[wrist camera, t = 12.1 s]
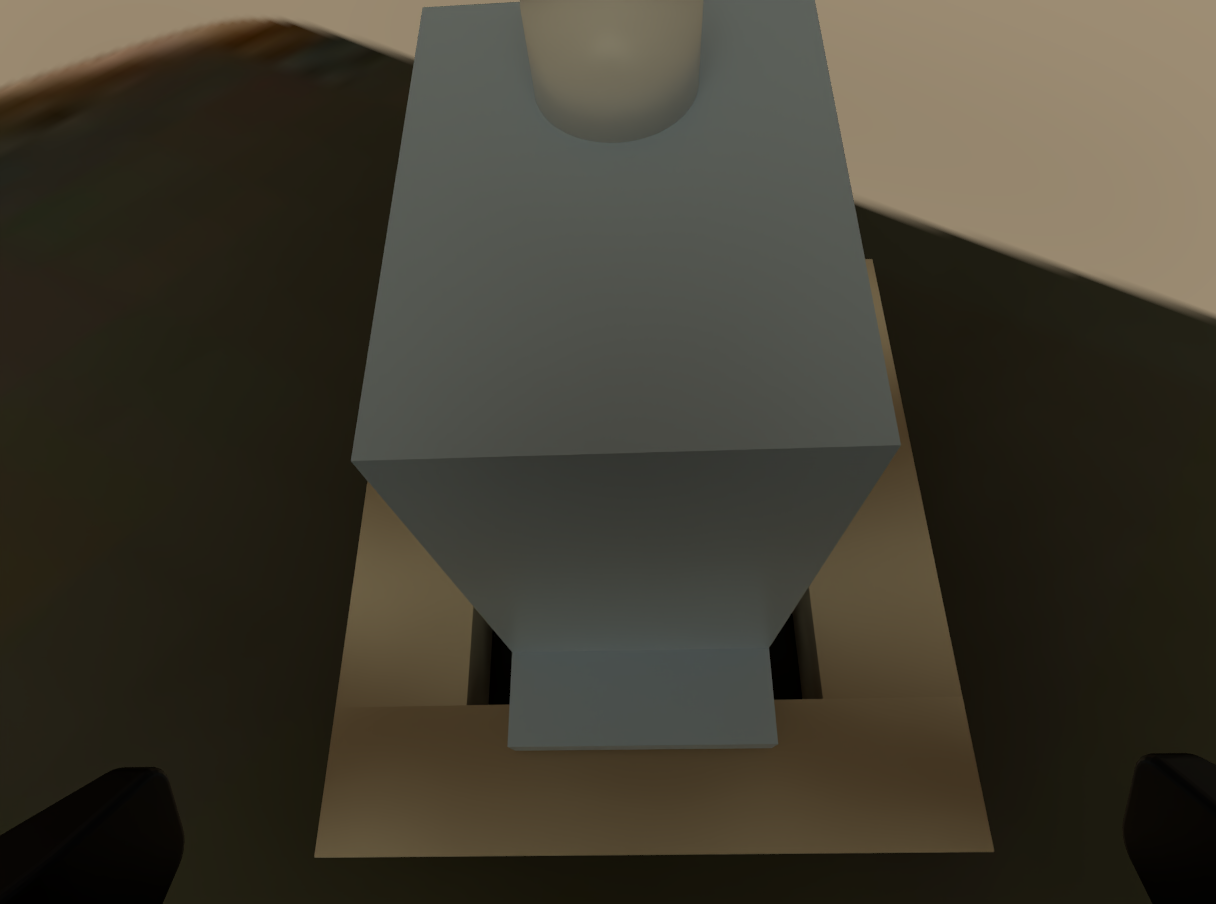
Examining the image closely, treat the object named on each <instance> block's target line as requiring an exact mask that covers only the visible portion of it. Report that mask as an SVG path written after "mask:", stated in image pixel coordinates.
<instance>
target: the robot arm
mask: <svg viewBox="0 0 1216 904" xmlns="http://www.w3.org/2000/svg"><path fill="white" fill-rule="evenodd" d="M1123 838H1124V843H1125V846H1126V850H1127V852H1128V855H1129V857H1130V859H1131V861H1132V863H1133V865H1134V867H1135V869H1136V871H1137V873H1138V875H1139V877H1140V879H1141V881H1142V883H1143V885H1144V887H1145V889H1146V892H1147V894H1148V896H1149V898H1150V900H1151V902H1152V904H1216V765H1215V764H1213V763H1211V762H1209V761H1207V760H1205V759H1203V758H1201V757H1199V756H1197V755H1193V754H1188V753H1157V754H1147V755H1144V756H1143V757H1141V758H1140V760H1139V761H1138V762H1137V764H1136V767H1135V770H1134V775H1133V779H1132V784H1131V788H1130V793H1129V797H1128V802H1127V806H1126V810H1125V815H1124V819H1123ZM183 850H184V831H183V827H182V823H181V820H180V817H179V813H178V810H177V806H176V803H175V800H174V796H173V793H172V789H171V786H170V782H169V779H168V777H167V775H166V774H165V773H164V772H163V771H162V770H161V769H159V768H156V767H124V768H117V769H114V770H112V771H110V772H108V773H106V774H104V775H102V776H101V777H99V778H97V779H96V780H94V781H92V782H91V783H89V784H87V785H85V786H84V787H82V788H80V789H79V790H77V791H75V792H74V793H72V794H70V795H68V796H67V797H65V798H63V799H62V800H60V801H58V802H56V803H55V804H53V805H51V806H50V807H48V808H46V809H45V810H43V811H41V812H39V813H38V814H36V815H34V816H33V817H31V818H29V819H28V820H26V821H24V822H22V823H21V824H19V825H17V826H16V827H14V828H12V829H10V830H9V831H7V832H5V833H4V834H2V835H0V904H163V901H164V899H165V897H166V894H167V892H168V890H169V887H170V885H171V883H172V880H173V878H174V876H175V873H176V871H177V869H178V867H179V864H180V861H181V858H182V854H183Z"/></svg>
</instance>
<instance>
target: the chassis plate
mask: <svg viewBox="0 0 1216 904" xmlns="http://www.w3.org/2000/svg"><path fill="white" fill-rule="evenodd" d="M865 262H866V267H867V272H868V277H869V283H870V288H871V293H872V298H873V303H874V308H875V313H876V319H877V324H878V329H879V334H880V339H881V344H882V350H883V355H884V360H885V365H886V370H887V375H888V380H889V386H890V391H891V396H892V401H893V406H894V411H895V417H896V422H897V427H898V432H899V437H900V442H901V446H900V448H899V449H898V451H897V452H896V454H895V455H894V457H893V458H892V460H891V461H890V463H889V464H888V466H887V467H886V469H885V471H884V472H883V474H882V475H881V477H880V478H879V480H878V481H877V483H876V484H875V486H874V487H873V489H872V491H871V492H870V494H869V495H868V497H867V498H866V500H865V501H864V503H863V504H862V506H861V507H860V509H859V511H858V512H857V514H856V515H855V517H854V518H853V520H852V521H851V523H850V524H849V526H848V527H847V529H846V530H845V532H844V534H843V535H842V537H841V538H840V540H839V541H838V543H837V544H836V546H835V547H834V549H833V550H832V552H831V554H830V555H829V557H828V558H827V560H826V561H825V563H824V564H823V566H822V567H821V569H820V570H819V572H818V573H817V575H816V577H815V578H814V580H813V581H812V583H811V584H810V586H809V587H808V589H807V590H806V592H805V593H804V595H803V597H802V598H801V600H800V601H799V603H798V604H797V606H796V607H795V609H794V610H793V612H792V615H793V623H794V632H795V640H796V649H797V657H798V666H799V674H800V683H801V692H802V699H793V700H774V706H775V716H776V726H777V737H778V745H776V746H774V747H773V748H747V749H646V750H546V751H515V750H513V749H511V748H509V747H507V746H508V726H509V706H510V705H489V687H490V670H491V652H492V635H493V629H492V628H491V627H490V625H489V624H488V623H487V622H486V621H485V619H484V618H483V617H482V616H481V615H480V614H479V612H478V611H477V610H476V609H475V608H474V606H473V605H472V604H471V603H470V602H469V600H468V599H467V598H466V597H465V596H464V595H463V593H462V592H461V591H460V590H459V589H458V587H457V586H456V585H455V584H454V583H453V582H452V580H451V579H450V578H449V577H448V576H447V574H446V573H445V572H444V571H443V570H442V569H441V567H440V566H439V565H438V564H437V563H436V561H435V560H434V559H433V558H432V557H431V555H430V554H429V553H428V552H427V551H426V550H425V548H424V547H423V546H422V545H421V544H420V542H419V541H418V540H417V539H416V538H415V537H414V535H413V534H412V533H411V532H410V531H409V529H408V528H407V527H406V526H405V525H404V523H403V522H402V521H401V520H400V519H399V518H398V516H397V515H396V514H395V513H394V512H393V510H392V509H391V508H390V507H389V506H388V505H387V503H386V502H385V501H384V500H383V499H382V497H381V496H380V495H379V494H378V493H377V491H376V490H375V489H374V488H373V487H372V486H371V484H370V483H369V482H368V481H367V488H366V495H365V503H364V510H363V517H362V524H361V531H360V538H359V545H358V552H357V559H356V566H355V573H354V580H353V587H352V594H351V601H350V608H349V616H348V623H347V630H346V637H345V644H344V651H343V658H342V665H341V672H340V679H339V686H338V693H337V700H336V707H335V714H334V721H333V728H332V736H331V743H330V750H329V757H328V764H327V771H326V778H325V785H324V792H323V799H322V806H321V813H320V820H319V827H318V834H317V841H316V849H315V856H314V858H338V857H455V856H573V855H691V854H809V853H927V852H994V848H993V843H992V838H991V833H990V828H989V823H988V818H987V814H986V809H985V804H984V799H983V794H982V789H981V785H980V780H979V775H978V770H977V765H976V760H975V755H974V751H973V746H972V741H971V736H970V731H969V726H968V721H967V717H966V712H965V707H964V702H963V697H962V692H961V687H960V683H959V678H958V673H957V668H956V663H955V658H954V653H953V649H952V644H951V639H950V634H949V629H948V624H947V619H946V615H945V610H944V605H943V600H942V595H941V590H940V585H939V581H938V576H937V571H936V566H935V561H934V556H933V551H932V547H931V542H930V537H929V532H928V527H927V522H926V517H925V513H924V508H923V503H922V498H921V493H920V488H919V484H918V479H917V474H916V469H915V464H914V459H913V454H912V450H911V445H910V440H909V435H908V430H907V425H906V420H905V416H904V411H903V406H902V401H901V396H900V391H899V386H898V382H897V377H896V372H895V367H894V362H893V357H892V352H891V348H890V343H889V338H888V333H887V328H886V323H885V318H884V314H883V309H882V304H881V299H880V294H879V289H878V284H877V280H876V275H875V270H874V265H873V260H872V259H865Z"/></svg>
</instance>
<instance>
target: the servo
mask: <svg viewBox="0 0 1216 904" xmlns="http://www.w3.org/2000/svg"><path fill="white" fill-rule="evenodd" d="M900 446H901V442H900V437H899V432H898V427H897V422H896V417H895V411H894V406H893V401H892V396H891V391H890V386H889V380H888V375H887V370H886V365H885V360H884V355H883V350H882V344H881V339H880V334H879V329H878V324H877V319H876V313H875V308H874V303H873V298H872V293H871V288H870V283H869V277H868V272H867V267H866V262H865V257H864V252H863V247H862V241H861V236H860V231H859V226H858V221H857V216H856V210H855V205H854V200H853V195H852V190H851V185H850V180H849V174H848V169H847V165H846V159H845V154H844V149H843V144H842V138H841V134H840V128H839V123H838V118H837V113H836V107H835V102H834V97H833V92H832V87H831V82H830V77H829V71H828V67H827V61H826V56H825V51H824V46H823V40H822V35H821V30H820V25H819V20H818V15H817V10H816V4H815V0H520V2H509V3H492V4H474V5H458V6H440V7H424V8H423V9H422V15H421V22H420V29H419V35H418V41H417V48H416V53H415V60H414V66H413V72H412V78H411V85H410V91H409V97H408V104H407V110H406V116H405V123H404V129H403V135H402V141H401V148H400V154H399V160H398V167H397V173H396V179H395V186H394V192H393V198H392V204H391V211H390V217H389V223H388V230H387V236H386V242H385V249H384V255H383V261H382V267H381V274H380V280H379V286H378V293H377V299H376V305H375V312H374V318H373V324H372V331H371V337H370V343H369V349H368V356H367V362H366V368H365V375H364V381H363V387H362V394H361V400H360V406H359V412H358V419H357V425H356V431H355V438H354V444H353V450H352V457H351V462H352V463H353V464H354V465H355V467H356V468H357V469H358V470H359V471H360V473H361V474H362V475H363V476H364V477H365V478H366V480H367V481H368V482H369V483H370V484H371V486H372V487H373V488H374V489H375V490H376V491H377V493H378V494H379V495H380V496H381V497H382V499H383V500H384V501H385V502H386V503H387V505H388V506H389V507H390V508H391V509H392V510H393V512H394V513H395V514H396V515H397V516H398V518H399V519H400V520H401V521H402V522H403V523H404V525H405V526H406V527H407V528H408V529H409V531H410V532H411V533H412V534H413V535H414V537H415V538H416V539H417V540H418V541H419V542H420V544H421V545H422V546H423V547H424V548H425V550H426V551H427V552H428V553H429V554H430V555H431V557H432V558H433V559H434V560H435V561H436V563H437V564H438V565H439V566H440V567H441V569H442V570H443V571H444V572H445V573H446V574H447V576H448V577H449V578H450V579H451V580H452V582H453V583H454V584H455V585H456V586H457V587H458V589H459V590H460V591H461V592H462V593H463V595H464V596H465V597H466V598H467V599H468V600H469V602H470V603H471V604H472V605H473V606H474V608H475V609H476V610H477V611H478V612H479V614H480V615H481V616H482V617H483V618H484V619H485V621H486V622H487V623H488V624H489V625H490V627H491V628H492V629H493V630H494V631H495V632H496V634H497V635H498V636H499V637H500V638H501V640H502V641H503V642H504V643H505V644H506V646H507V647H508V648H509V649H510V650H511V651H512V666H511V686H510V706H509V726H508V746H507V747H509V748H511V749H513V750H515V751H546V750H646V749H747V748H773V747H774V746H776V745H778V737H777V726H776V716H775V706H774V695H773V685H772V675H771V664H770V654H769V647H770V646H771V644H772V643H773V641H774V640H775V638H776V636H777V635H778V633H779V632H780V630H781V629H782V627H783V626H784V624H785V623H786V621H787V620H788V618H789V616H790V615H791V613H792V612H793V610H794V609H795V607H796V606H797V604H798V603H799V601H800V600H801V598H802V597H803V595H804V593H805V592H806V590H807V589H808V587H809V586H810V584H811V583H812V581H813V580H814V578H815V577H816V575H817V573H818V572H819V570H820V569H821V567H822V566H823V564H824V563H825V561H826V560H827V558H828V557H829V555H830V554H831V552H832V550H833V549H834V547H835V546H836V544H837V543H838V541H839V540H840V538H841V537H842V535H843V534H844V532H845V530H846V529H847V527H848V526H849V524H850V523H851V521H852V520H853V518H854V517H855V515H856V514H857V512H858V511H859V509H860V507H861V506H862V504H863V503H864V501H865V500H866V498H867V497H868V495H869V494H870V492H871V491H872V489H873V487H874V486H875V484H876V483H877V481H878V480H879V478H880V477H881V475H882V474H883V472H884V471H885V469H886V467H887V466H888V464H889V463H890V461H891V460H892V458H893V457H894V455H895V454H896V452H897V451H898V449H899V448H900Z"/></svg>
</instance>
